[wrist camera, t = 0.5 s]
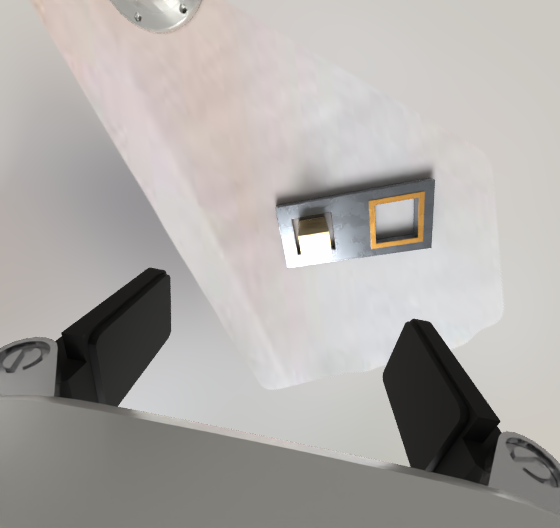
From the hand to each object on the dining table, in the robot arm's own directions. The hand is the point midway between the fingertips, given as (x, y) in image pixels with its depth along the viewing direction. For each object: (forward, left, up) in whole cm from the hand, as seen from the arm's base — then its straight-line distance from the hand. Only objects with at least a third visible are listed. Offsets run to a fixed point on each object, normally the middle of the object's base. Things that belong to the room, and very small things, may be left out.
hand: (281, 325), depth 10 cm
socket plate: (+10, +4, -31) cm, 33 cm away
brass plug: (+7, -1, -31) cm, 32 cm away
